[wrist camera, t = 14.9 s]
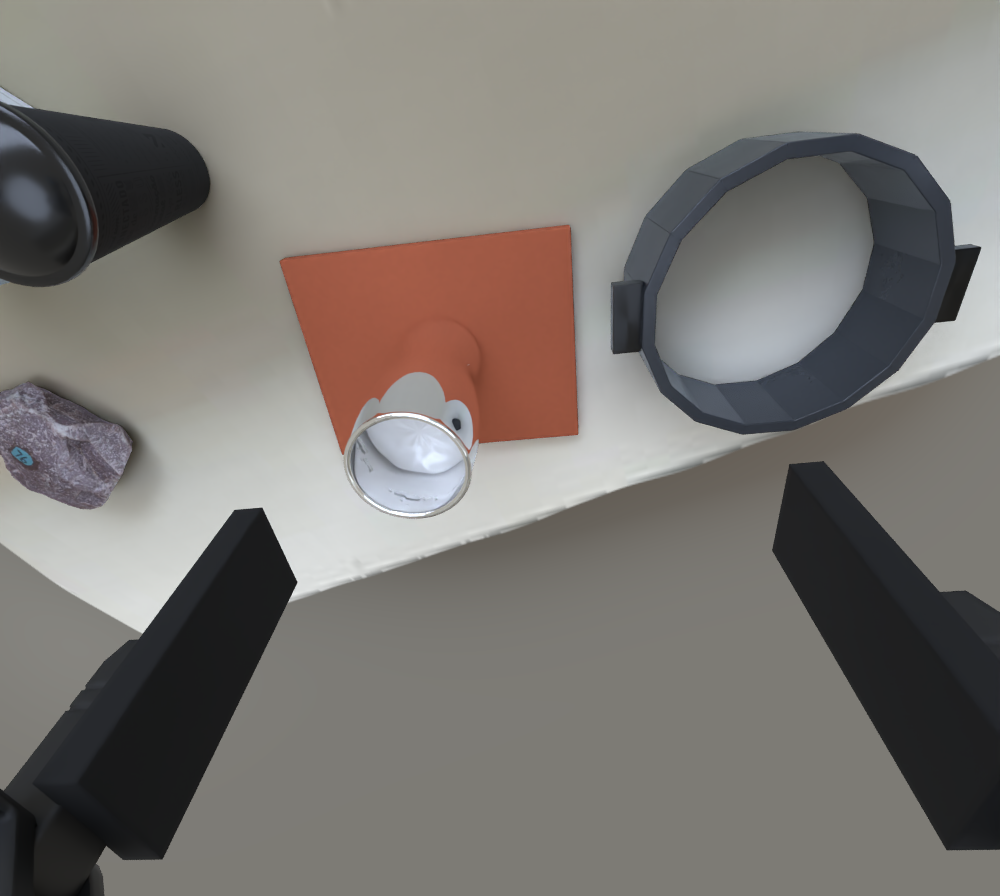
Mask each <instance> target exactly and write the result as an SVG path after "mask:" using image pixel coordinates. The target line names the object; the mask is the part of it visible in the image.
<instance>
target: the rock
mask: <svg viewBox="0 0 1000 896" xmlns="http://www.w3.org/2000/svg"><path fill="white" fill-rule="evenodd" d="M132 443H133V441H132V440H131V439H130V437H129V436H128V435H127V433H126V431H125V430H124V429H123V427H122V426H120V425H117V424H114V423H111V422H107V421H104V420H102V419H101V418H99V417H97V416H96V415H94V414H92V413H90V412H89V411H88V410H86V409H85V408H83V407H82V406H80V405H77V404H75V403H73V402H71V401H69V400H67V399H63V398H61V397H59V396H57V395H55V394H53V393H51V392H50V391H48V390H46V389H43V388H40V387H38V386H35V385H33V384H32V383H30V382H26V383H23V384H21V385H18V386H17V387H15V388H14V389H12V390H5V391H2V392H0V455H2V457H3V459H4V462H5V465H6V468H7V469H8V470H9V471H10V473H11V475H12V476H13V477H14V478H15V479H16V480H17V481H19V482H20V483H21V484H22V485H23V486H25V487H26V488H27V489H29V490H31V491H34V492H37V493H40V494H43V495H46V496H48V497H50V498H52V499H55V500H57V501H60V502H62V503H65V504H67V505H70V506H73V507H77V508H80V509H95V508H97V507H100V506H102V505H103V504H104V503H105V502H106V501H107V500H108V498H109V496H110V494H111V492H112V490H113V489H114V487H115V485H116V484H117V483H118V481H119V479H120V478H121V477H122V475H123V472H124V469H125V466H126V464H127V461H128V458H129V455H130V454H131V452H132Z"/></svg>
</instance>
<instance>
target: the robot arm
mask: <svg viewBox="0 0 1000 896" xmlns="http://www.w3.org/2000/svg"><path fill="white" fill-rule="evenodd" d="M772 551H773V553H774V554H775V556H776V558H777V560H778V561H779V563H780V565H781V566H782V568H783V570H784V572H785V573H786V575H787V577H788V579H789V580H790V582H791V584H792V585H793V587H794V589H795V591H796V592H797V594H798V596H799V597H800V599H801V601H802V603H803V604H804V606H805V608H806V609H807V611H808V613H809V615H810V616H811V618H812V620H813V621H814V623H815V625H816V627H817V628H818V630H819V632H820V633H821V635H822V637H823V639H824V640H825V642H826V644H827V645H828V647H829V649H830V651H831V652H832V654H833V656H834V657H835V659H836V661H837V662H838V664H839V666H840V668H841V670H842V671H843V673H844V675H845V676H846V678H847V680H848V682H849V683H850V685H851V687H852V688H853V690H854V692H855V693H856V695H857V697H858V699H859V700H860V702H861V704H862V706H863V707H864V709H865V711H866V712H867V714H868V716H869V718H870V719H871V721H872V722H873V724H874V726H875V728H876V730H877V731H878V733H879V734H880V736H881V738H882V740H883V742H884V743H885V745H886V747H887V749H888V750H889V752H890V754H891V755H892V757H893V759H894V761H895V762H896V764H897V766H898V767H899V769H900V771H901V773H902V774H903V776H904V778H905V779H906V781H907V783H908V784H909V786H910V788H911V790H912V791H913V793H914V795H915V797H916V798H917V800H918V802H919V803H920V805H921V807H922V809H923V810H924V812H925V814H926V815H927V817H928V819H929V820H930V822H931V824H932V826H933V827H934V829H935V831H936V832H937V834H938V836H939V838H940V839H941V841H942V843H943V845H944V846H945V848H946V850H999V849H1000V612H999V611H997V610H995V609H994V608H992V607H991V606H989V605H988V604H986V603H984V602H983V601H981V600H980V599H978V598H976V597H975V596H974V595H972V594H970V593H969V592H967V591H952V592H939V591H938V590H937V589H936V587H935V586H934V585H933V584H932V583H931V582H930V581H929V580H928V579H927V577H926V576H925V575H924V574H923V573H922V572H921V571H920V569H919V568H918V567H917V566H916V565H915V564H914V563H913V562H912V560H911V559H910V558H909V557H908V556H907V555H906V554H905V553H904V551H903V550H902V549H901V548H900V547H899V546H898V545H897V544H896V542H895V541H894V540H893V539H892V538H891V537H890V536H889V535H888V533H887V532H886V531H885V530H884V529H883V528H882V527H881V525H880V524H879V523H878V522H877V521H876V520H875V519H874V518H873V516H872V515H871V514H870V513H869V512H868V511H867V510H866V509H865V507H864V506H863V505H862V504H861V503H860V502H859V501H858V500H857V498H855V496H854V495H853V494H852V493H851V492H850V491H849V489H848V488H847V487H846V486H845V485H844V484H843V483H842V482H841V480H840V479H839V478H838V477H837V476H836V475H835V474H834V473H833V471H832V470H831V469H830V468H829V467H828V466H827V465H826V464H825V463H824V461H822V462H810V463H798V464H789V470H788V474H787V479H786V484H785V489H784V494H783V499H782V504H781V509H780V514H779V519H778V524H777V529H776V534H775V540H774V544H773V549H772ZM296 585H297V580H296V578H295V576H294V574H293V572H292V570H291V568H290V565H289V563H288V561H287V559H286V557H285V555H284V553H283V551H282V549H281V546H280V544H279V542H278V540H277V538H276V536H275V534H274V532H273V529H272V527H271V525H270V523H269V521H268V519H267V517H266V515H265V512H264V510H263V508H253V509H241V510H234V512H233V513H232V514H231V516H230V517H229V518H228V520H227V521H226V522H225V524H224V525H223V526H222V528H221V529H220V530H219V532H218V533H217V534H216V536H215V537H214V539H213V540H212V541H211V543H210V544H209V545H208V547H207V548H206V549H205V551H204V552H203V553H202V555H201V556H200V557H199V559H198V560H197V561H196V563H195V564H194V566H193V567H192V568H191V570H190V571H189V572H188V574H187V575H186V576H185V578H184V579H183V580H182V582H181V583H180V584H179V586H178V587H177V588H176V590H175V591H174V593H173V594H172V595H171V597H170V598H169V599H168V601H167V602H166V603H165V605H164V606H163V607H162V609H161V610H160V611H159V613H158V614H157V615H156V617H155V618H154V620H153V621H152V622H151V624H150V625H149V626H148V628H147V629H146V630H145V632H144V633H143V634H142V636H141V637H140V639H139V640H129V641H127V642H126V643H125V644H124V645H123V646H122V647H120V648H119V649H118V650H117V651H116V652H115V653H114V654H112V655H111V656H110V657H109V658H108V659H107V660H106V661H104V662H103V664H102V665H101V666H100V668H99V669H98V670H97V672H96V673H95V674H94V675H93V677H92V678H91V679H90V680H89V682H88V683H87V684H86V689H85V690H82V691H81V692H80V693H79V695H78V696H77V697H76V698H75V700H74V701H73V702H72V704H71V705H70V710H69V711H65V713H64V714H63V715H62V717H61V718H60V719H59V720H58V722H57V723H56V724H55V726H54V727H53V728H52V729H51V731H50V732H49V733H48V735H47V736H46V737H45V739H44V740H43V741H42V742H41V744H40V745H39V746H38V748H37V749H36V750H35V751H34V753H33V754H32V755H31V757H30V758H29V759H28V761H27V762H26V763H25V765H24V766H23V767H22V768H21V769H20V771H19V772H18V773H17V775H16V776H15V777H14V779H13V780H12V781H11V782H10V784H9V785H8V786H7V787H6V789H5V790H4V791H3V790H1V789H0V896H104V885H103V876H102V873H101V870H100V868H99V866H98V865H97V864H96V862H97V861H98V859H99V857H100V855H101V854H102V852H103V850H104V848H105V847H106V846H107V847H108V848H110V849H111V850H112V851H113V852H114V853H116V854H117V855H118V856H119V857H120V858H122V859H123V860H152V859H153V860H155V859H163V857H164V855H165V853H166V851H167V849H168V847H169V845H170V843H171V841H172V838H173V837H174V834H175V832H176V830H177V828H178V826H179V824H180V822H181V820H182V818H183V816H184V814H185V812H186V810H187V808H188V806H189V804H190V802H191V800H192V798H193V796H194V794H195V792H196V789H197V787H198V785H199V783H200V781H201V779H202V777H203V775H204V773H205V771H206V769H207V767H208V765H209V763H210V761H211V758H212V757H213V755H214V752H215V750H216V748H217V746H218V744H219V742H220V740H221V738H222V736H223V734H224V732H225V730H226V728H227V726H228V724H229V722H230V720H231V717H232V716H233V714H234V711H235V710H236V707H237V705H238V703H239V701H240V699H241V697H242V695H243V693H244V691H245V689H246V687H247V685H248V683H249V681H250V679H251V677H252V675H253V673H254V671H255V669H256V667H257V664H258V662H259V660H260V658H261V656H262V654H263V652H264V650H265V648H266V646H267V644H268V642H269V640H270V638H271V636H272V634H273V632H274V630H275V627H276V626H277V623H278V621H279V619H280V617H281V615H282V613H283V611H284V609H285V607H286V605H287V603H288V601H289V599H290V597H291V595H292V593H293V591H294V589H295V587H296Z"/></svg>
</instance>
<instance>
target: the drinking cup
mask: <svg viewBox="0 0 1000 896" xmlns="http://www.w3.org/2000/svg"><path fill="white" fill-rule="evenodd" d="M209 187H210V181H209V174H208V170H207V167H206V165H205V162H204V160H203V158H202V157H201V155H200V154H199V152H198V151H197V150H196V148H195V147H194V146H193V145H192V144H191V143H190V142H189V141H188V140H186V139H185V138H184V137H182V136H181V135H179V134H177V133H175V132H173V131H170V130H167V129H161V128H155V127H148V126H142V125H135V124H129V123H123V122H116V121H110V120H104V119H97V118H91V117H84V116H78V115H72V114H65V113H59V112H53V111H46V110H40V109H33V108H27V107H21V106H14V105H8V104H6V103H4V102H1V101H0V279H3V280H6V281H8V282H12V283H15V284H20V285H24V286H32V287H50V286H55V285H59V284H62V283H65V282H68V281H70V280H72V279H74V278H76V277H77V276H79V275H80V274H81V273H82V272H84V271H85V270H86V268H87V267H88V266H89V264H90V263H92V262H94V261H96V260H97V259H99V258H101V257H103V256H105V255H107V254H109V253H111V252H113V251H115V250H117V249H119V248H121V247H123V246H125V245H127V244H129V243H131V242H133V241H135V240H137V239H139V238H141V237H143V236H145V235H147V234H149V233H151V232H152V231H154V230H156V229H158V228H160V227H162V226H164V225H166V224H168V223H170V222H172V221H174V220H176V219H178V218H180V217H182V216H184V215H186V214H188V213H190V212H192V211H194V210H196V209H197V208H199V207H200V206H201V205H202V204H203V203H204V202H205V200H206V198H207V196H208V193H209Z"/></svg>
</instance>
